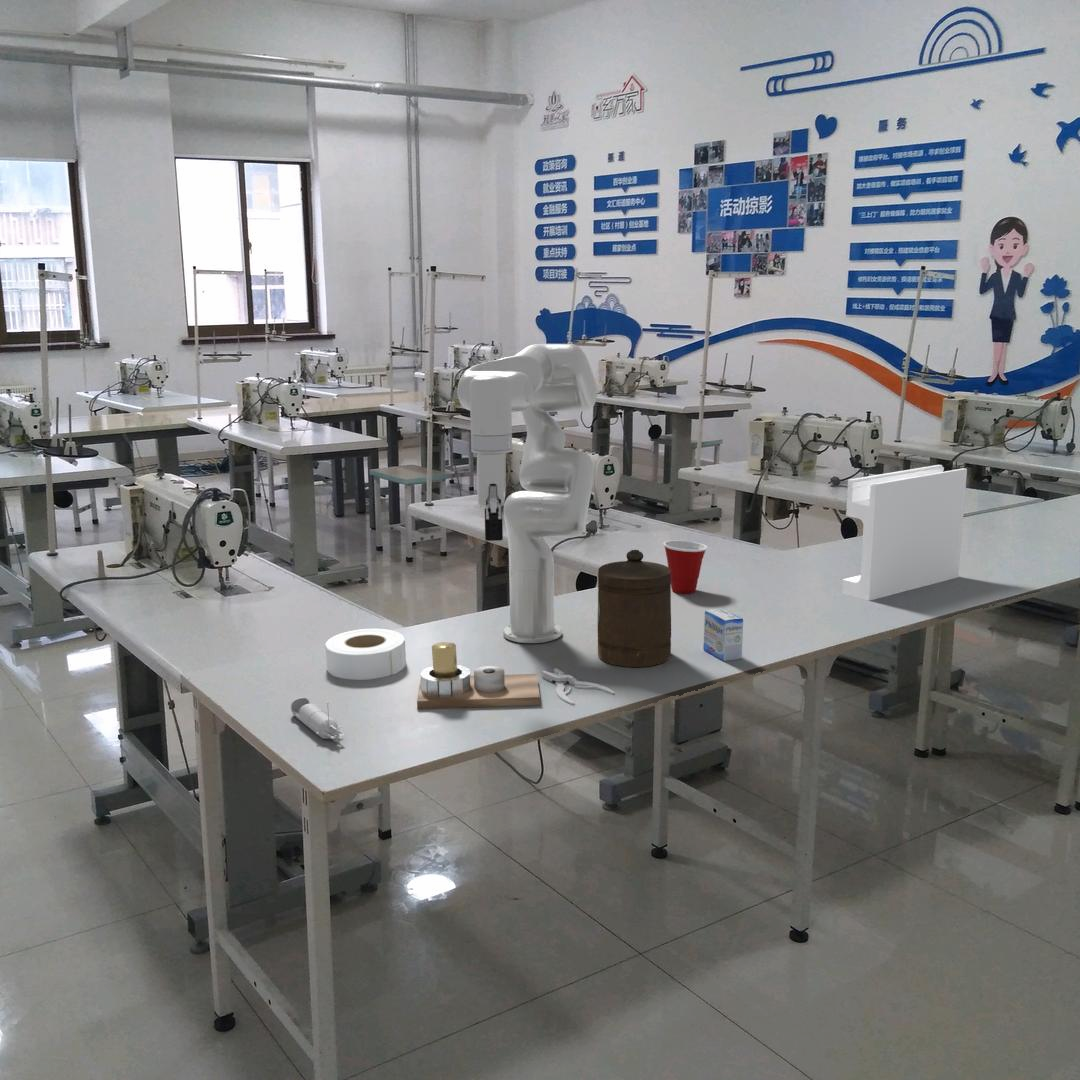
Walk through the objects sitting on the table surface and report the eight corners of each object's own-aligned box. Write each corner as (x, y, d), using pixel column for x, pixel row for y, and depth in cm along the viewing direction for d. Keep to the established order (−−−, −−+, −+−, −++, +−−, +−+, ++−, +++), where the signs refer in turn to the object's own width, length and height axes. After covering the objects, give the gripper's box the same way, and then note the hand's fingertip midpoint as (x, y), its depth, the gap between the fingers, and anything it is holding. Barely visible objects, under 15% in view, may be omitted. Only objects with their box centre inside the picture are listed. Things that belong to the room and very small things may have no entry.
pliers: (571, 698, 191) (527, 674, 204) (571, 707, 192) (527, 682, 204) (615, 687, 196) (570, 664, 209) (615, 695, 197) (570, 672, 209)
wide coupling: (422, 680, 201) (422, 664, 200) (470, 678, 201) (470, 663, 200) (420, 697, 192) (419, 682, 191) (470, 696, 192) (469, 680, 192)
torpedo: (284, 717, 189) (281, 682, 187) (309, 710, 191) (307, 676, 190) (326, 751, 174) (324, 713, 173) (353, 744, 177) (350, 707, 175)
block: (868, 600, 252) (875, 484, 246) (841, 593, 259) (847, 479, 253) (958, 577, 272) (967, 468, 265) (931, 570, 278) (939, 464, 272)
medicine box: (702, 650, 220) (703, 610, 218) (721, 647, 221) (722, 607, 219) (723, 662, 213) (724, 620, 211) (742, 658, 214) (744, 617, 212)
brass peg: (434, 683, 199) (431, 643, 197) (458, 682, 199) (455, 641, 197) (434, 692, 194) (431, 650, 193) (458, 690, 195) (456, 648, 193)
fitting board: (421, 684, 202) (420, 661, 201) (536, 681, 203) (536, 658, 202) (417, 708, 191) (416, 684, 190) (540, 705, 192) (539, 680, 191)
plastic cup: (713, 595, 259) (714, 547, 256) (671, 598, 256) (672, 550, 254) (696, 583, 269) (697, 537, 266) (656, 586, 267) (656, 540, 264)
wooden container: (631, 639, 227) (632, 538, 222) (685, 655, 217) (687, 550, 212) (582, 655, 217) (582, 551, 212) (636, 673, 207) (637, 564, 202)
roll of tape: (373, 686, 203) (371, 658, 201) (310, 672, 210) (308, 645, 209) (422, 661, 216) (421, 635, 215) (361, 649, 224) (360, 624, 222)
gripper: (471, 437, 204) (474, 524, 208) (470, 450, 187) (473, 545, 191) (510, 436, 204) (512, 524, 208) (513, 449, 187) (515, 544, 191)
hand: (493, 534), depth 199 cm, fingers open, 9 cm apart
